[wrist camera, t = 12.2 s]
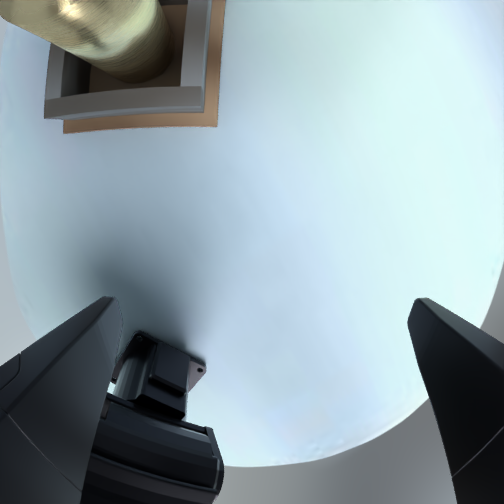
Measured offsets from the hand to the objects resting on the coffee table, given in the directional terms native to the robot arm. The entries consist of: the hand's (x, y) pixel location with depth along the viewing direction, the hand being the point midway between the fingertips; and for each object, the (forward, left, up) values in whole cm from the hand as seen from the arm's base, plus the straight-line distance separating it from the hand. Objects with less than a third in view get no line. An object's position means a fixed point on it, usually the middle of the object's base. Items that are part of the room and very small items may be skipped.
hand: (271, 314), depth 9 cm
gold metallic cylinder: (+5, +11, -12) cm, 17 cm away
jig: (+5, +11, -13) cm, 18 cm away
